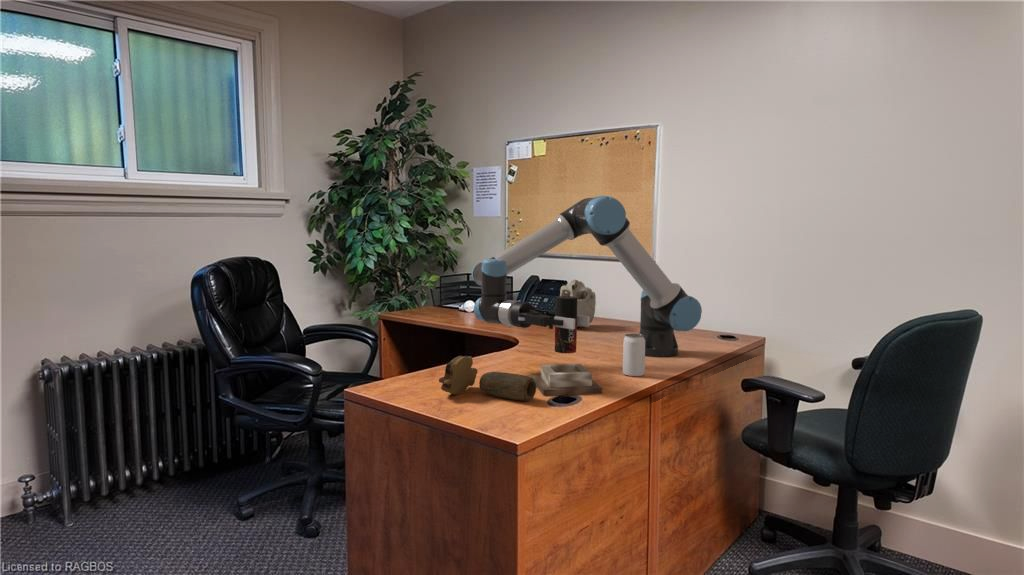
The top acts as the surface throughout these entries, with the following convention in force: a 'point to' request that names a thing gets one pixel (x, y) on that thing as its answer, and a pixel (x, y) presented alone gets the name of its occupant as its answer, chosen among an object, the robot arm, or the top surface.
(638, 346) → the can
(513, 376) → the olive hollow cylinder
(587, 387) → the socket
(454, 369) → the wooden carving
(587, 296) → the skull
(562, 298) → the deodorant
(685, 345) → the top surface
